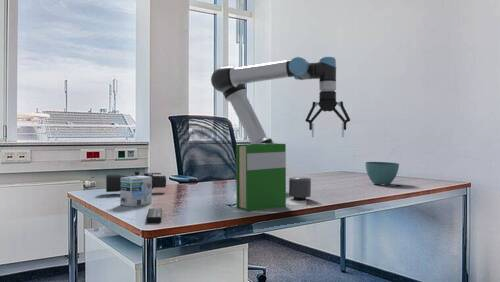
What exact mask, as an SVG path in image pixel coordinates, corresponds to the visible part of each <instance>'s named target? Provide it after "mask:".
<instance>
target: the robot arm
mask: <svg viewBox="0 0 500 282" xmlns="http://www.w3.org/2000/svg"><path fill="white" fill-rule="evenodd" d="M286 78H287V79H288V78H294V80H297V81H303V80H304V81H305V80H318V79H319V80H318V81H319V85H318V86H319V90H318V91H320V92H319V96H318V99H319V101H318V102H316V101H312V103H311V104H312V105H311V108H310V110H309V112H308V114H307V116H306V118H305V122H307V123H308V125H309V130H310V131H311V138H314V133H315V132H314V131H315V130H314V121H315V119H317V117H318V116H319V115H320V114H321V113H322V112H334V113H335V114H336V115H337V116H338V118H339V119H340V120H341V121H342V123H341V138H344V136H345V135H344V134H345V131H346V130H347V123H349V122H350V121H351V119H350V117H349V114H348V113H347V110H346V109H345V106H344V101H341V100H340V101H337V92H336V90H337V62H336V58H335V57H332V56H324V57H323V56H322V57H319V61H318V62H309V61H307V60H306V59H305V58H304V57H299V56H294V57H292V58H291V59H287V60H281V61H274V62H267V63H261V64H255V65H248V66H241V67H235V66H234V65H232V66H224V67H223V66H222V67H219V68H217V69H215V70H214V71H213V73H212V75H211V77H210V82H211V83H210V84H211V85H212V87H213V89H215V91H218V92H219V93H222V95H223V97H224V99H225V100H226V102H229V103H230V104H231V106H232V108H233V110H234V113H235V114H236V116H237V118H238V120H239V122H240V125H241V126H242V129H243V131H244V132H245V135H246V137H247V139H248V141H249V144H269V143H274V141H273V140H272V137H268V136H267V135H266V133H265V130H264V129H263V127H262V124H261V122H260V121H259V118H258V116H257V114H256V112H255V111H254V108H253V105H252V104H251V103H250V100H249V98H248V96H247V92H248V89H247V87H246V84H250V83H251V84H252V83H256V82H265V81H271V80H278V79H279V80H280V79H286ZM317 106H318V107H319V109H318V110H317V111H316V113H315V114H314V115H313V116H312V114H313V112H314V110H315V108H317ZM337 106H338V107H340V110H341V111H342V113H343V115H344V116H343V115H342V114H341V113H340V112H339V111H338V109H337V108H336V107H337ZM311 117H312V118H311ZM344 117H345V118H344ZM310 118H311V119H310Z"/></svg>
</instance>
